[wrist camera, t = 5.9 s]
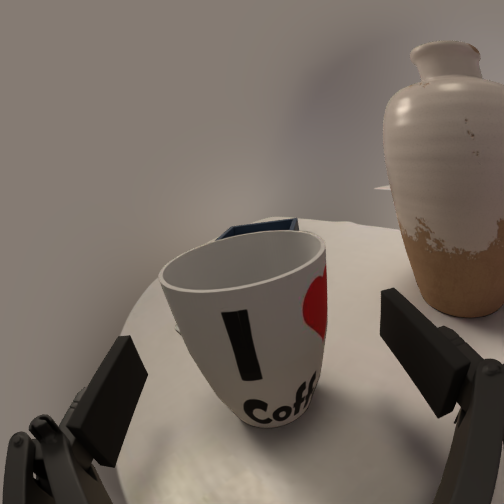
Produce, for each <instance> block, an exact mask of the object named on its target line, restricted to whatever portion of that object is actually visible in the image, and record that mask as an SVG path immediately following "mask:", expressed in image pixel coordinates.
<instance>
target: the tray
mask: <svg viewBox="0 0 504 504" xmlns="http://www.w3.org/2000/svg"><path fill="white" fill-rule="evenodd" d="M276 230H292V231H299V226H298V220H297V218H294V219H285V220H277V221H269V222H262V223H254V224H247V225H239V226H232V227H230V228H229V229H228V230H227V231H225V232H224V233H223V234H222V235H221V236H220V237H219V238H217V239H216V240H215V241H217V240H221V239H224V238H228V237H233V236H237V235H242V234H248V233H255V232H263V231H276Z"/></svg>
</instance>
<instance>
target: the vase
mask: <svg viewBox="0 0 504 504" xmlns="http://www.w3.org/2000/svg"><path fill="white" fill-rule="evenodd" d="M410 59H411V61H412V63H413V64H414V65H416V66H417V68H418V71H419V74H420V78H421V82H419V83H415V84H413V85H410V86H408V87H405V88H403V89H401V90H400V91H398V92H397V93H396V94H395V95H394V96H393V97H392V98H391V99H390V100H389V102H388V105H387V107H386V110H385V115H384V122H383V146H384V155H385V162H386V168H387V174H388V179H389V184H390V188H391V192H392V197H393V201H394V206H395V210H396V214H397V219H398V223H399V227H400V231H401V235H402V238H403V242H404V245H405V249H406V252H407V255H408V258H409V261H410V264H411V267H412V270H413V273H414V276H415V279H416V282H417V285H418V287H419V289H420V292H421V294H422V296H423V298H424V300H425V301H426V302H427V303H428V304H429V305H430V306H432V307H433V308H435V309H437V310H438V311H441V312H443V313H446V314H449V315H453V316H458V317H467V318H473V317H482V316H486V315H489V314H491V313H494V312H495V311H497V310H498V309H499V308H500V307H501V306H502V305H503V303H504V85H502V84H500V83H496V82H493V81H490V80H485V79H483V78H482V75H481V71H480V67H479V61H480V53H479V51H478V50H477V49H476V48H475V47H474V46H472V45H470V44H467V43H464V42H459V41H435V42H430V43H426V44H423V45H420V46H418V47H416V48H414V49H413V50H412V51H411V53H410Z"/></svg>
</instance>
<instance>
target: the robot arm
mask: <svg viewBox="0 0 504 504" xmlns="http://www.w3.org/2000/svg"><path fill="white" fill-rule="evenodd" d="M380 336H381V337H382V339H383V340H384V341H385V343H386V344H387V346H388V347H389V348H390V350H391V351H392V352H393V354H394V355H395V357H396V358H397V359H398V361H399V362H400V364H401V365H402V366H403V368H404V369H405V371H406V372H407V373H408V375H409V376H410V378H411V379H412V381H413V382H414V384H415V385H416V386H417V388H418V389H419V391H420V392H421V394H422V395H423V397H424V398H425V400H426V401H427V403H428V404H429V406H430V407H431V409H432V410H433V412H434V413H435V415H436V416H437V418H440V417H443V416H445V415H446V414H448V413H450V412H452V411H453V409H454V407H455V405H456V402H457V403H458V404H459V405H460V407H461V408H460V410H459V413H458V415H457V417H456V419H455V421H454V423H455V424H456V422H457V424H456V428H455V433H454V437H453V441H452V445H451V449H450V453H449V456H448V460H447V463H446V467H445V470H444V473H443V476H442V479H441V482H440V485H439V488H438V490H437V493H436V496H435V498H434V501H433V503H432V504H491V501H492V497H493V493H494V489H495V484H496V480H497V475H498V469H499V464H500V457H501V450H502V442H503V445H504V364H501V363H500V362H499V361H497V360H495V359H483V358H482V357H481V356H480V355H479V354H478V353H477V352H476V351H475V350H474V349H473V348H472V347H470V346H469V345H468V344H467V343H466V342H465V341H464V340H463V339H462V338H461V337H459V335H458V334H457V333H456V332H455V331H454V330H452V329H450V328H448V327H445V326H441V327H439V328H437V327H436V326H435V325H434V324H433V323H432V322H431V321H430V320H429V319H427V318H426V317H425V316H424V315H423V314H422V313H421V312H420V311H419V310H418V309H417V308H416V307H415V306H414V305H413V304H411V303H410V302H409V301H408V300H407V299H406V298H405V297H404V296H403V295H402V294H400V293H399V292H398V291H397V290H396V289H395V288H391V289H387V290H383V291H381V319H380ZM147 376H148V373H147V371H146V369H145V367H144V365H143V363H142V361H141V359H140V356H139V354H138V352H137V350H136V348H135V345H134V343H133V341H132V339H131V336H130V335H129V336H119V337H118V338H117V339H116V341H115V342H114V344H113V346H112V347H111V349H110V351H109V352H108V354H107V355H106V357H105V358H104V360H103V362H102V363H101V365H100V367H99V368H98V370H97V371H96V373H95V375H94V376H93V378H92V380H91V382H90V383H89V385H88V387H84V388H83V389H82V390H81V391H80V392H79V393H78V394H77V395H76V397H75V399H74V400H73V402H72V404H71V406H70V408H69V409H68V411H67V412H66V414H65V416H64V418H63V419H62V421H61V423H60V425H59V427H58V425H57V424H56V423H55V422H54V420H53V419H52V418H51V417H50V416H49V415H40V416H38V417H36V418H34V420H33V421H32V422H31V423H30V425H29V431H30V432H31V433H32V434H33V435H34V437H35V438H36V439H31V438H30V437H29V436H28V435H27V433H25V432H17V433H15V434H14V435H13V436H12V437H11V439H10V441H9V445H8V451H7V457H6V465H5V474H4V485H3V504H113V503H112V501H111V499H110V497H109V495H108V493H107V491H106V490H105V488H104V486H103V484H102V481H101V479H100V478H99V475H98V473H97V471H96V469H95V467H94V466H93V465H92V464H91V463H92V460H93V458H94V459H95V460H96V461H97V462H98V463H99V464H100V465H102V466H107V467H113V468H115V465H116V462H117V459H118V456H119V453H120V450H121V447H122V444H123V442H124V439H125V436H126V433H127V430H128V427H129V425H130V422H131V419H132V416H133V413H134V411H135V408H136V405H137V403H138V400H139V397H140V395H141V392H142V389H143V387H144V384H145V382H146V379H147ZM33 472H34V473H35V474H36V479H35V478H34V477H33Z"/></svg>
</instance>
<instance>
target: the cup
mask: <svg viewBox="0 0 504 504" xmlns="http://www.w3.org/2000/svg"><path fill="white" fill-rule="evenodd" d="M159 281H160V283H161V286H162V289H163V291H164V294H165V296H166V299H167V301H168V304H169V306H170V309H171V311H172V314H173V316H174V318H175V321H176V323H177V326H178V328H179V330H180V333H181V335H182V337H183V339H184V342H185V344H186V346H187V348H188V351H189V353H190V354H191V356H192V358H193V359H194V361H195V363H196V364H197V366H198V367H199V369H200V370H201V372H202V374H203V375H204V377H205V378H206V380H207V381H208V383H209V384H210V386H211V387H212V389H213V390H214V392H215V393H216V395H217V396H218V397H219V399H220V400H221V401H222V402H223V403H224V404H226V405H227V406H228V407H229V408H230V409H231V410H232V411H233V412H234V413H235V414H236V415H237V416H238V417H239V418H240V419H241V420H242V421H244V422H245V423H247V424H249V425H252V426H256V427H261V428H273V427H279V426H282V425H285V424H288V423H290V422H292V421H294V420H296V419H297V418H298V417H300V416H301V415H302V414H303V413H304V412H305V410H306V409H307V407H308V406H309V403H310V401H311V398H312V396H313V393H314V390H315V388H316V385H317V382H318V380H319V377H320V373H321V367H322V360H323V353H324V346H325V339H326V331H327V272H326V249H325V242H324V240H323V239H322V238H321V237H319V236H317V235H315V234H312V233H308V232H303V231H292V230H276V231H263V232H255V233H248V234H242V235H237V236H233V237H228V238H224V239H221V240H217V241H214V242H210V243H207V244H204V245H202V246H199V247H196V248H194V249H192V250H189V251H187V252H185V253H183V254H181V255H179V256H178V257H176V258H174V259H173V260H171V261H170V262H168V263H167V264H166V265H165V266H164V267H163V268H162V270H161V271H160V273H159Z"/></svg>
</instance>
